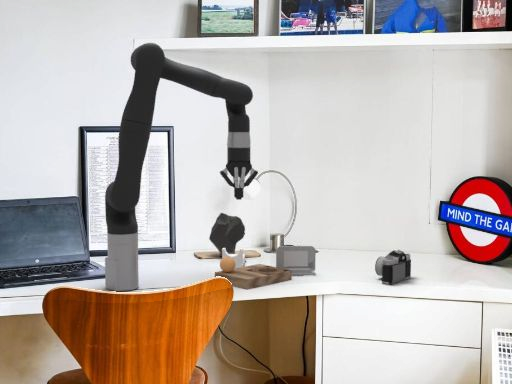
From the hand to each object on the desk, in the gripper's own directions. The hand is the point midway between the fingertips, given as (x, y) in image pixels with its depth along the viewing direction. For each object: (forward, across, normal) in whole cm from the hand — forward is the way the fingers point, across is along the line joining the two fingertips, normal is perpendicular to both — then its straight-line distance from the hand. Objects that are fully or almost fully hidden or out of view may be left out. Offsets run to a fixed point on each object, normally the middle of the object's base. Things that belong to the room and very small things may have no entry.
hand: (238, 199), depth 219 cm
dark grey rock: (+26, +2, +32) cm, 42 cm away
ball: (+20, -5, -6) cm, 22 cm away
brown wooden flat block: (+26, +4, -6) cm, 27 cm away
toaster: (+26, +20, +3) cm, 33 cm away
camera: (+26, +49, -12) cm, 57 cm away
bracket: (+26, +1, +18) cm, 32 cm away
